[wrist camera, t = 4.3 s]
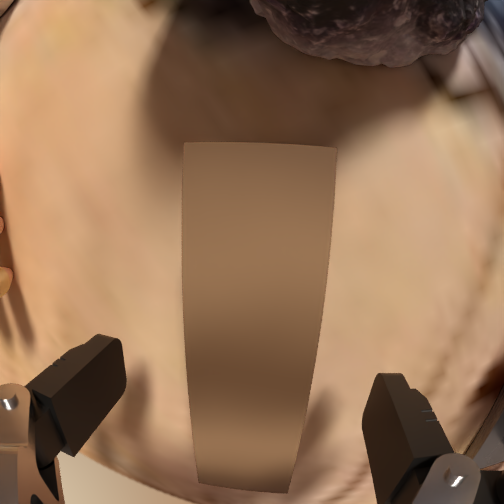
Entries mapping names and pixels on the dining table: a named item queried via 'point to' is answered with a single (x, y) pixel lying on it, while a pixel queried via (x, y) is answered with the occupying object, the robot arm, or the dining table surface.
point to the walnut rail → (253, 302)
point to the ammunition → (4, 272)
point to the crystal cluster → (372, 27)
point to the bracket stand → (490, 437)
